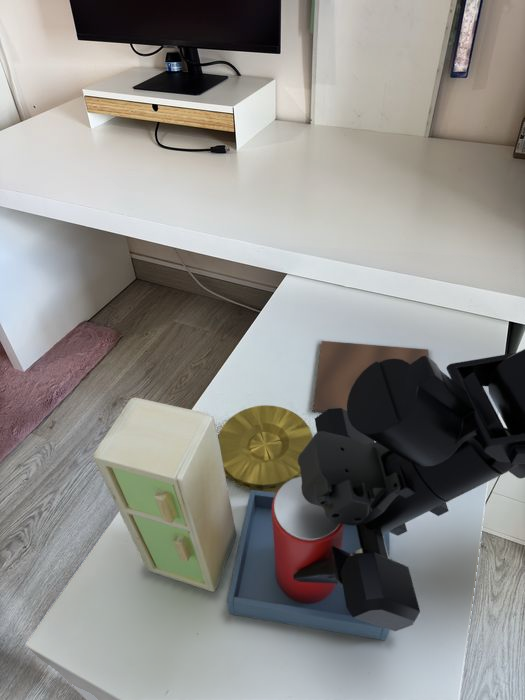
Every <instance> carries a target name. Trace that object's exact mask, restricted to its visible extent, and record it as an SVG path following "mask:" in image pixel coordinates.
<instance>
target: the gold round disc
mask: <svg viewBox="0 0 525 700" xmlns="http://www.w3.org/2000/svg"><path fill="white" fill-rule="evenodd" d="M217 435H218V440H219V445H220V450H221V456H222V461H223V467H224V472H225V477H226V479H227V478H228V479H229V480H230V481H232V482H233V483H235V484H236V485H237V486H239V487H242V488H244V489H247V490H255V491H264V492H271V493H277V491H278V490H279V489H280V488H281V487H282V486H283V485H284V484H285V483H287V482H288V481H290V480H292V479H294V478H297V477H301V471H300V466H299V465H298V457H299V455H300V454H301V452H302V451H303V450H304V449H305V447H306V446H307V445H308V443H309V442H310V441H311V439H312V438H313V437H314V435H313V433H312V431H311V428H310V427H309V425H308V424H307V423H306V421H305V420H304V419H303V418H302V417H301V416H299V415H298V414H297V413H295V412H294V411H292V410H291V409H287V408H284V407H281V406H277V405H264V404H263V405H255V406H252V407H248V408H245V409H243V410H240V411H238V412H237V413H235V414H234V415H232V416H231V417H230V418H228V419H227V421H225V423H224V424H223V425H222V427H221V429H220V430H219V433H218V434H217Z"/></svg>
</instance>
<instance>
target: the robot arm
mask: <svg viewBox="0 0 525 700" xmlns="http://www.w3.org/2000/svg"><path fill="white" fill-rule="evenodd" d="M446 371H447V373H448V375H449V376H448V375H447V374H446V373H444V372H443V371H442V370H441V369H440V368H439V366H438V363H436V362H435V361H434V360H433V359H431V358H430V356H429V357H428V356H421V357H420V358H418V359H417V360H416V361H414V362H413V363H411V364H409V363H408V362H406V361H404V360H402V359H395V358H394V359H386V360H384V361H381V362H374V363H373V364H371V365H370V366H369V367H367V368H366V369H365V370H364V371H363V372H362V373H361V374H360V376H359V377H358V378H357V379H356V381H355V383H354V384H353V386H352V388H351V391H350V393H349V396H348V401H347V411H346V410H344V409H343V408H329V409H328V410H326V411H325V412H321V413H320V414H319V415H317V416H316V417H314V423H315V430H316V433H315V434H314V435H313V438H312V439H311V441H310V442H309V443H308V445H307V446H306V447H305V449H304V450H303V451H302V452H301V454H300V455H299V457H298V465H299V466H300V471H301V479H302V486H301V489H302V494H303V496H304V498H305V499H306V500H307V501H308V502H309V503H311V504H314V505H318V506H321V507H323V508H324V510H325V515H326V519H327V520H328V521H329V522H333V523H339V524H345V525H352V526H353V525H356V527H357V532H358V537H359V542H360V547H361V548H360V549H358V550H356V551H355V553H354V552H353V553H349V552H346V551H344V550H342V549H339V548H337V547H335V546H332V547H331V551H330V556H328V557H326V558H324V559H322V560H320V561H317V562H315V563H313V564H311V565H309V566H306V567H304V568H302V569H301V570H299V571H298V572H296V573H295V574H294V575H293V578H294V580H297V581H299V582H313V583H338V584H339V585H340V586H341V587H343V590H344V596H345V602H346V608H347V609H348V611H349V612H350V614H351V616H352V617H353V618H356V619H359V620H362V621H365V622H368V623H371V624H374V625H377V626H380V627H383V628H387V629H390V630H389V631H392V632H398V631H401V630H403V629H405V628H408V627H412V626H413V625H414V623H415V622H416V621H417V619H418V618H419V615H420V613H421V610H420V605H419V601H418V598H417V595H416V591H415V586H414V583H413V580H412V576H411V573H410V572H411V571H410V568H409V566H407V565H405V564H402V563H400V562H398V561H395V560H393V559H392V558H391V557H390V554H389V555H388V552H387V548H386V544H385V540H384V536H383V534H384V533H386V532H388V531H389V533H391V534H393V535H395V536H397V537H399V536H401V535H403V534H405V533H407V532H408V529H407V524H406V523H409V522H410V521H413V520H414V519H417V518H418V517H421V516H422V515H424V514H426V513H428V512H430V513H431V514H434V515H435V516H437V517H440V516H441V515H444V514H446V513H448V512H449V511H450V510H449V507H448V505H447V503H449V502H450V501H452V500H454V499H456V498H458V497H461V496H462V495H464V494H466V493H468V492H470V491H472V490H474V489H477V488H478V487H480V486H482V485H484V484H487V483H488V482H490V481H492V480H494V479H496V478H498V477H500V476H502V475H504V474H506V473H510V474H512V475H513V476H514V477H516V478H517V479H524V478H525V348H523V349H521V350H520V351H518V352H512V353H506V354H500V355H493V356H488V357H482V358H477V359H470V360H464V361H459V362H458V361H457V362H452V363H449V364H448V365H447V366H446ZM484 387H487V388H488V393H487V391H486V390H485V388H484ZM488 394H489V396H490V397H489V396H488ZM490 398H491V399H490ZM491 401H492V402H493V403H492V402H491ZM493 404H494V405H495V406H494V405H493ZM494 407H495V408H496V409H495V408H494ZM496 410H497V411H496ZM497 412H498V413H499V414H498V413H497ZM499 416H500V417H499ZM500 418H501V419H502V420H501V419H500ZM502 421H503V423H504V424H503V423H502ZM504 425H505V426H504Z"/></svg>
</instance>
